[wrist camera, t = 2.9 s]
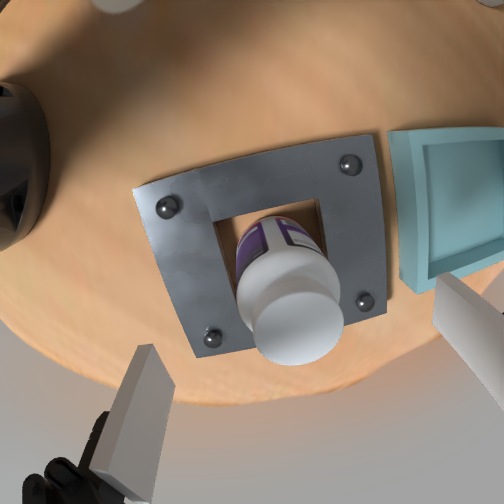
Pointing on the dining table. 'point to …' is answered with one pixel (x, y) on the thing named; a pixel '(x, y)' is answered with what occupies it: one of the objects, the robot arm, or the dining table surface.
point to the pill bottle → (287, 292)
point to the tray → (448, 201)
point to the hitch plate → (255, 199)
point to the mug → (491, 2)
